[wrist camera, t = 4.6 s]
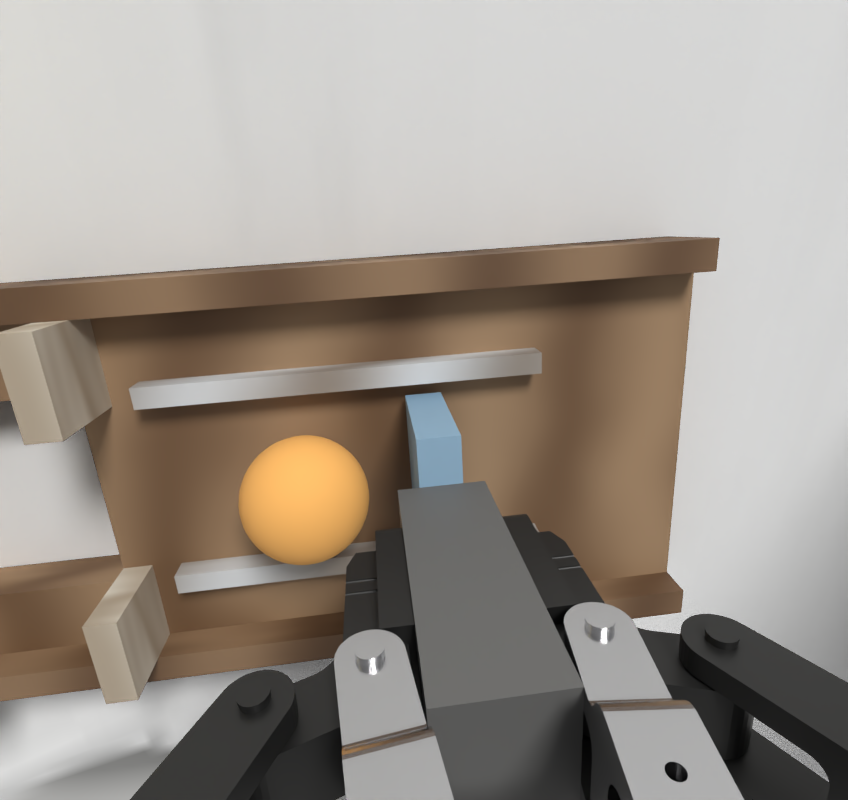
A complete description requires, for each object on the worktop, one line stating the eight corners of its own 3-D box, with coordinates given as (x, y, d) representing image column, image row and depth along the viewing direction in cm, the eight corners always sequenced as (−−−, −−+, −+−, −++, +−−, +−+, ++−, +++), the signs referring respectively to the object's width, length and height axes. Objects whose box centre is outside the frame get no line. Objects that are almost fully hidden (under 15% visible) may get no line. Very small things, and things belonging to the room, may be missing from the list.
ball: (363, 412, 18) (362, 460, 15) (373, 515, 20) (376, 584, 16) (243, 423, 18) (211, 475, 14) (261, 528, 19) (237, 601, 16)
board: (667, 236, 20) (759, 239, 15) (643, 566, 24) (709, 646, 19) (-137, 292, 17) (-316, 315, 13) (-3, 645, 22) (-101, 757, 17)
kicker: (458, 390, 18) (587, 609, 8) (464, 526, 20) (577, 859, 9) (386, 396, 18) (420, 630, 7) (398, 533, 20) (440, 883, 9)
